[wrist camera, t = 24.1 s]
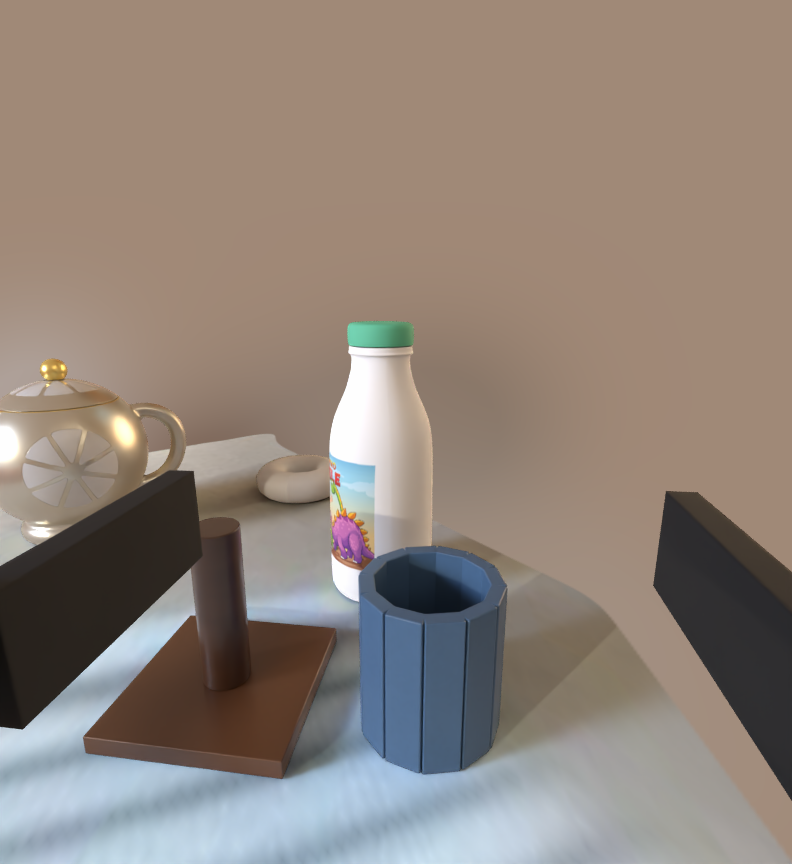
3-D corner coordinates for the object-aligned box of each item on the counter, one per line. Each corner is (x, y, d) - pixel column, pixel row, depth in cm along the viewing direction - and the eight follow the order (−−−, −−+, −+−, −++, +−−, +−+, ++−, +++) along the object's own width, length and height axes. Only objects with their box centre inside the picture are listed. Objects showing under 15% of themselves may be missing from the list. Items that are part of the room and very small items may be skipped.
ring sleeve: (510, 688, 29) (518, 561, 27) (476, 796, 23) (484, 640, 21) (394, 654, 32) (394, 536, 30) (336, 742, 26) (331, 600, 24)
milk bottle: (417, 552, 45) (420, 319, 40) (442, 601, 38) (451, 323, 33) (328, 561, 43) (320, 320, 38) (337, 614, 36) (329, 324, 31)
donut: (340, 476, 65) (259, 479, 63) (340, 449, 64) (258, 452, 62) (349, 505, 56) (253, 511, 54) (349, 475, 55) (252, 479, 53)
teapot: (-24, 583, 40) (-70, 373, 36) (-16, 523, 50) (-51, 356, 46) (211, 526, 50) (195, 358, 46) (177, 487, 61) (161, 347, 57)
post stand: (336, 641, 33) (332, 496, 31) (282, 779, 24) (269, 585, 21) (192, 628, 34) (176, 488, 32) (85, 753, 25) (51, 568, 22)
